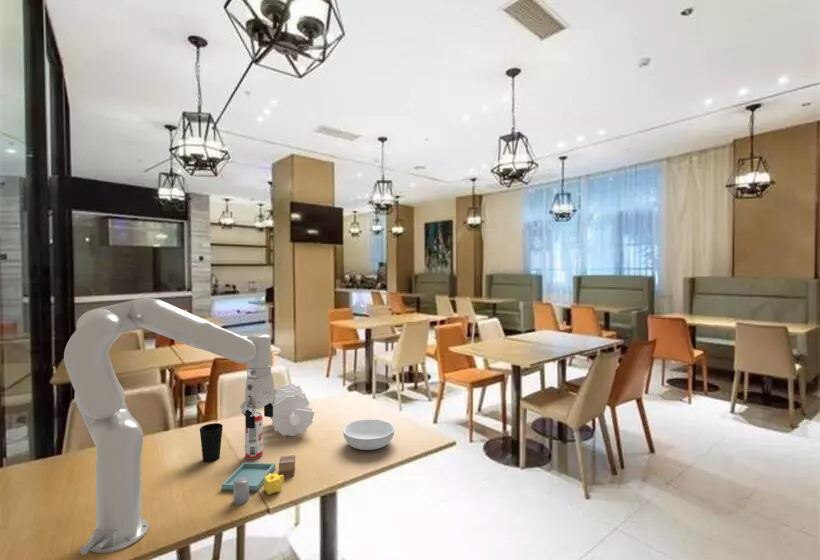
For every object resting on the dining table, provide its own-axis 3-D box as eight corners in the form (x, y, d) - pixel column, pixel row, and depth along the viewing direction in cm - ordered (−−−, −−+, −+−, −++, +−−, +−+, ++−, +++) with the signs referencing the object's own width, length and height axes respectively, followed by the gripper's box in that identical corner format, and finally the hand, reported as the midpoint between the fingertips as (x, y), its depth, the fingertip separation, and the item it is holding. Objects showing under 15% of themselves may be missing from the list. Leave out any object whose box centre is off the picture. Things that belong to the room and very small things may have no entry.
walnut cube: (294, 476, 133) (294, 461, 133) (278, 477, 132) (278, 463, 132) (295, 468, 138) (295, 455, 138) (280, 470, 137) (280, 456, 137)
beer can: (243, 461, 143) (244, 418, 143) (246, 453, 149) (246, 412, 149) (262, 459, 145) (262, 416, 145) (263, 451, 151) (263, 411, 151)
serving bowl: (401, 451, 152) (401, 434, 152) (349, 460, 145) (349, 442, 144) (385, 431, 172) (385, 416, 171) (338, 438, 164) (338, 422, 164)
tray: (257, 492, 123) (257, 485, 123) (221, 490, 124) (221, 484, 124) (275, 468, 138) (275, 463, 138) (243, 467, 139) (243, 462, 139)
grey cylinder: (244, 505, 117) (244, 485, 116) (230, 504, 117) (230, 484, 117) (251, 496, 121) (251, 477, 121) (237, 496, 121) (237, 477, 121)
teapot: (287, 493, 123) (287, 477, 123) (268, 499, 119) (269, 483, 119) (279, 482, 129) (279, 467, 129) (262, 487, 126) (262, 472, 126)
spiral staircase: (283, 449, 162) (276, 425, 184) (322, 426, 168) (310, 405, 190) (263, 414, 157) (259, 393, 180) (304, 391, 163) (294, 373, 186)
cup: (213, 464, 141) (213, 432, 140) (194, 462, 142) (194, 430, 142) (227, 455, 148) (227, 424, 148) (209, 453, 150) (209, 422, 149)
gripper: (252, 379, 120) (252, 433, 120) (283, 365, 137) (284, 413, 137) (231, 377, 122) (232, 431, 122) (265, 364, 139) (265, 411, 139)
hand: (259, 422), depth 130 cm, fingers open, 9 cm apart
